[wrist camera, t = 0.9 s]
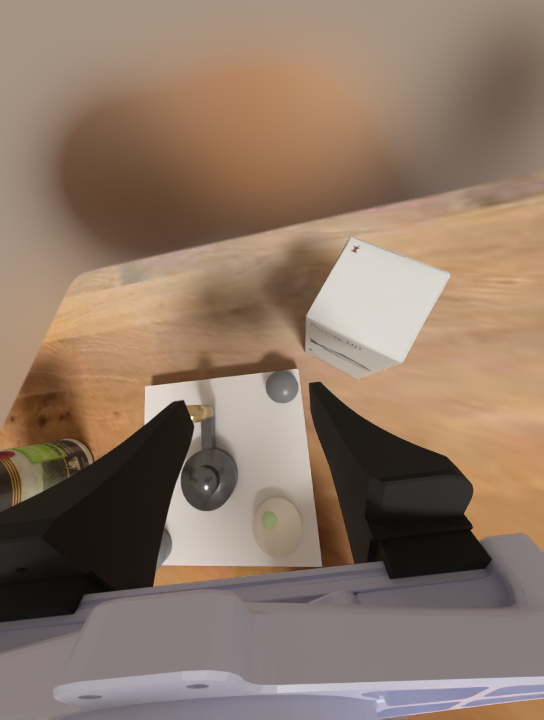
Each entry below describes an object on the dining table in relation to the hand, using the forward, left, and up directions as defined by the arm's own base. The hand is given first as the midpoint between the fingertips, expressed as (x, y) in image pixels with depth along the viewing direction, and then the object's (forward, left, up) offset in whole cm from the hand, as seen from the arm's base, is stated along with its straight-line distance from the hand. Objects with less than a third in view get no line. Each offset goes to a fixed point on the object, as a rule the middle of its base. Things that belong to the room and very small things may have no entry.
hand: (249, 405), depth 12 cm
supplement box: (+7, -9, -15) cm, 19 cm away
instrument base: (-6, +7, -15) cm, 18 cm away
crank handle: (-5, +8, -12) cm, 16 cm away
